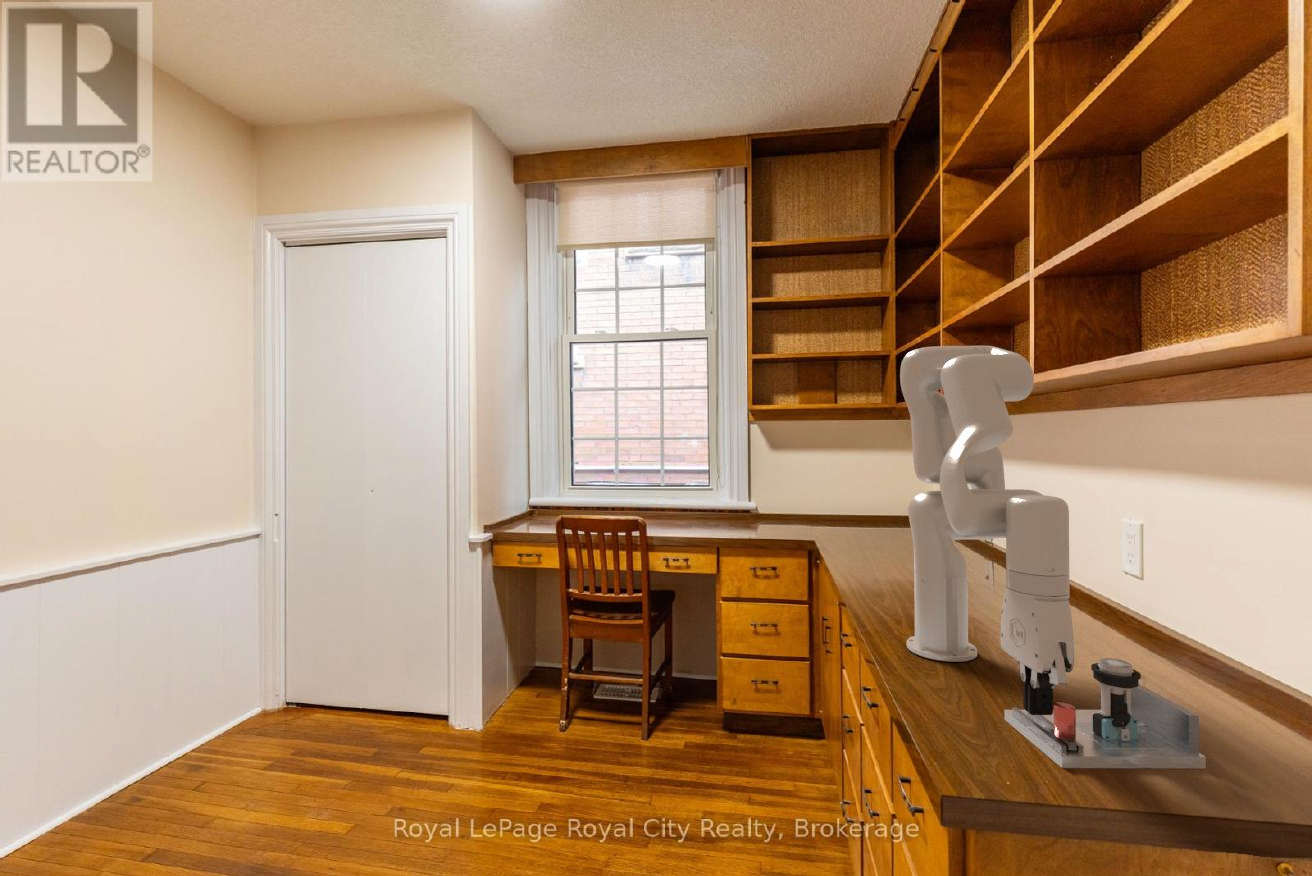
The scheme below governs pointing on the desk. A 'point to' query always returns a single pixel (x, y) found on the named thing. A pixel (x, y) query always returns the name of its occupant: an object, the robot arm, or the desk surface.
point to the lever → (1065, 724)
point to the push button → (1116, 700)
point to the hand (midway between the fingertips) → (1038, 712)
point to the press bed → (1158, 747)
